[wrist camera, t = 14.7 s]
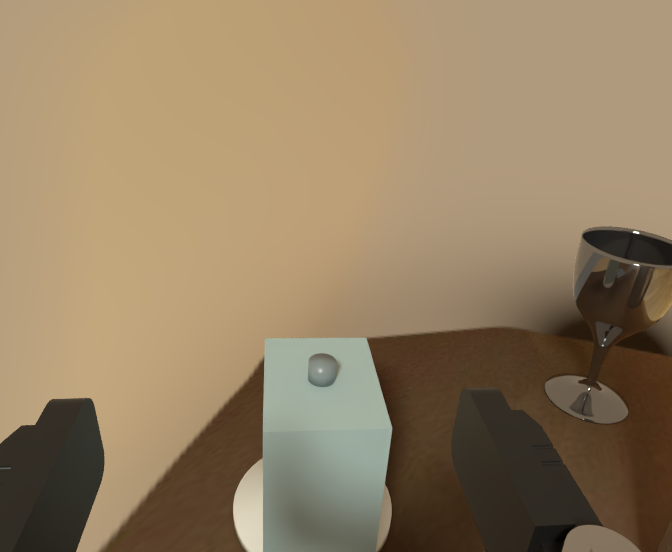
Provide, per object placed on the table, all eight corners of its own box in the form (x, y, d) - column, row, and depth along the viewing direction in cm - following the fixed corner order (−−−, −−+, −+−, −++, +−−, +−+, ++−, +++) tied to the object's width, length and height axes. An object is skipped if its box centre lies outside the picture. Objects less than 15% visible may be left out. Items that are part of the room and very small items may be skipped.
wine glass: (573, 432, 44) (627, 268, 38) (523, 374, 51) (561, 227, 45) (654, 422, 46) (719, 263, 39) (595, 367, 53) (642, 225, 46)
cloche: (354, 452, 40) (367, 321, 35) (374, 558, 32) (394, 409, 27) (264, 455, 39) (265, 322, 34) (263, 564, 31) (262, 413, 26)
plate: (376, 450, 41) (377, 442, 41) (405, 578, 32) (407, 569, 31) (238, 454, 40) (238, 446, 39) (227, 589, 30) (227, 579, 30)
